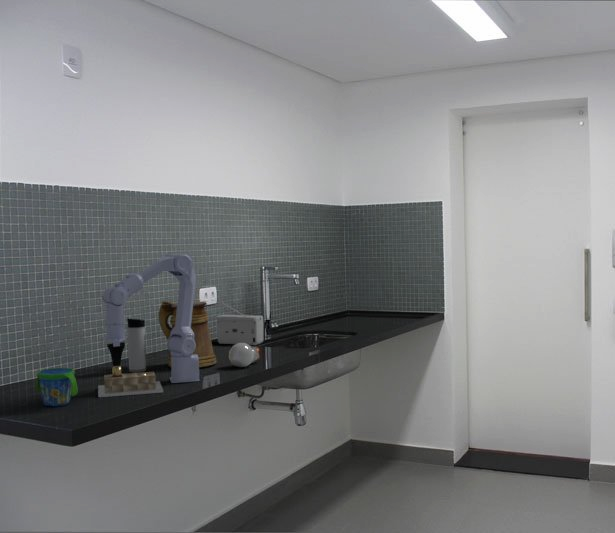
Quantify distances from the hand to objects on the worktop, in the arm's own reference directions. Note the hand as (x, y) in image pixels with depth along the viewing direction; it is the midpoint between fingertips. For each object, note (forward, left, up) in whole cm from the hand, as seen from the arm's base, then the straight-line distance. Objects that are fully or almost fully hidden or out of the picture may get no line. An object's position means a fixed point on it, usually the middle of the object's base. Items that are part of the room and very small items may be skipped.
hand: (116, 365), depth 234 cm
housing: (-4, 0, -8) cm, 9 cm away
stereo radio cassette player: (-57, -86, -9) cm, 104 cm away
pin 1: (0, 0, -4) cm, 4 cm away
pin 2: (-8, 0, -7) cm, 11 cm away
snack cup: (+18, +12, -9) cm, 23 cm away
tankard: (-27, -40, -9) cm, 49 cm away
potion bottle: (-48, -30, -9) cm, 57 cm away
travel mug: (-8, -34, -9) cm, 36 cm away
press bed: (-4, 0, -8) cm, 9 cm away
